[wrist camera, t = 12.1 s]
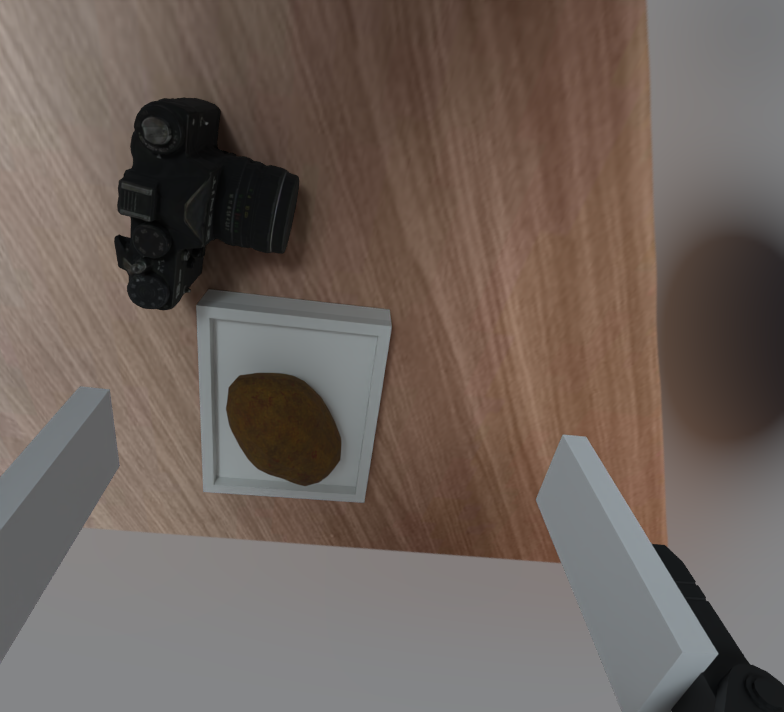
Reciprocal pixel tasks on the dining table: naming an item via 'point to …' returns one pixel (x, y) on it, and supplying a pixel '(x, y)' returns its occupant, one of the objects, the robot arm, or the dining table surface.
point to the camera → (193, 200)
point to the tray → (303, 360)
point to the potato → (283, 427)
